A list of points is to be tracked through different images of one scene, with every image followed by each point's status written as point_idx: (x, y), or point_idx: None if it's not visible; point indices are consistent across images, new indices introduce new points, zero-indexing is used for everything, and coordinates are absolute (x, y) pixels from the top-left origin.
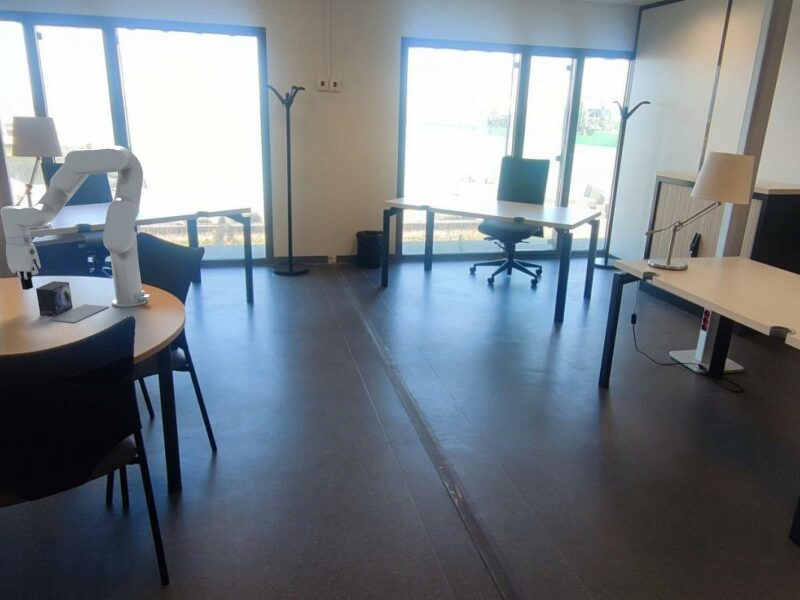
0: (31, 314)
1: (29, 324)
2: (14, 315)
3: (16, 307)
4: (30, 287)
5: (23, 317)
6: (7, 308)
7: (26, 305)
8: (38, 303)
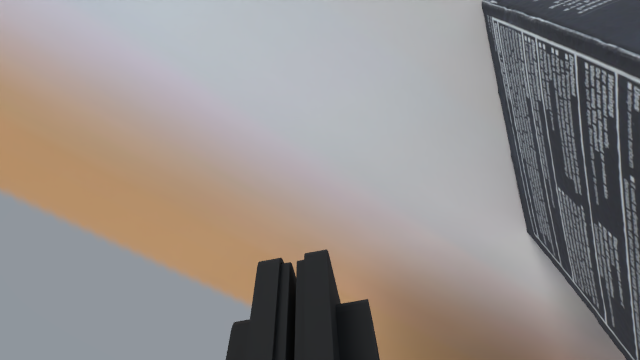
0: (430, 237)
1: (591, 350)
2: None
3: (134, 184)
4: (337, 295)
5: (433, 296)
6: (101, 230)
7: (145, 108)
8: (588, 305)
